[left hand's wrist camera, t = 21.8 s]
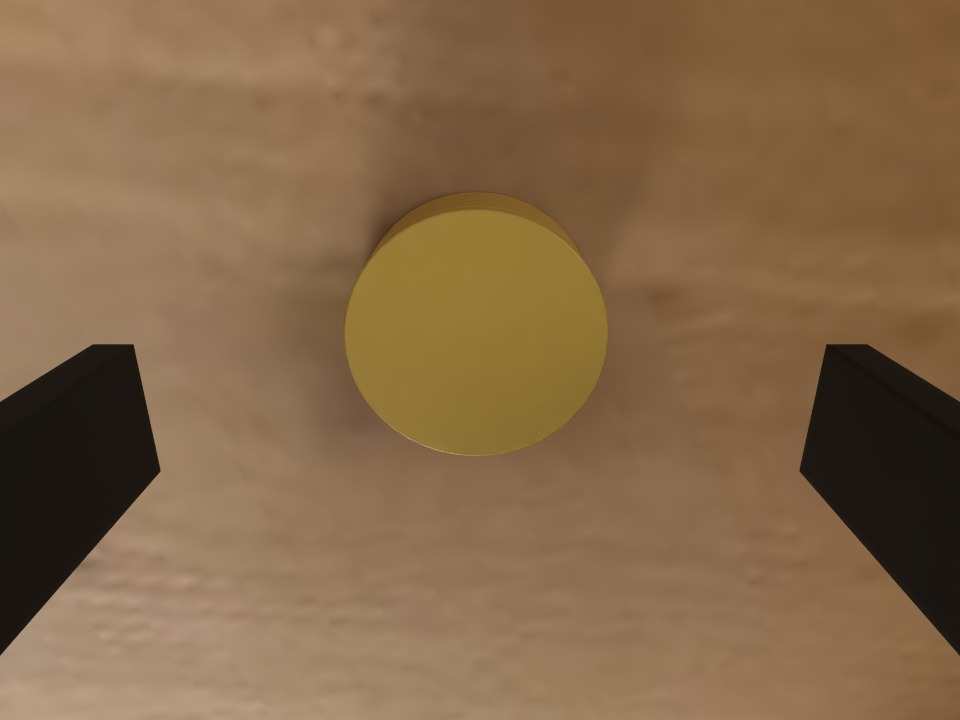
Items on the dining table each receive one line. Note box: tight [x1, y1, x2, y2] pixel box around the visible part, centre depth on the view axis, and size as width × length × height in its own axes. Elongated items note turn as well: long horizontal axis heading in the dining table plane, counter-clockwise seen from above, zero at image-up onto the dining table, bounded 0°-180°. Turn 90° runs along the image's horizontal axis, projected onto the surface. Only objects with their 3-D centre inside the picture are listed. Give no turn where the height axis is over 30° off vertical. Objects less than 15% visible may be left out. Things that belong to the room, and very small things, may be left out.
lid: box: [344, 192, 608, 456], centre depth 14 cm, size 5×5×2 cm
